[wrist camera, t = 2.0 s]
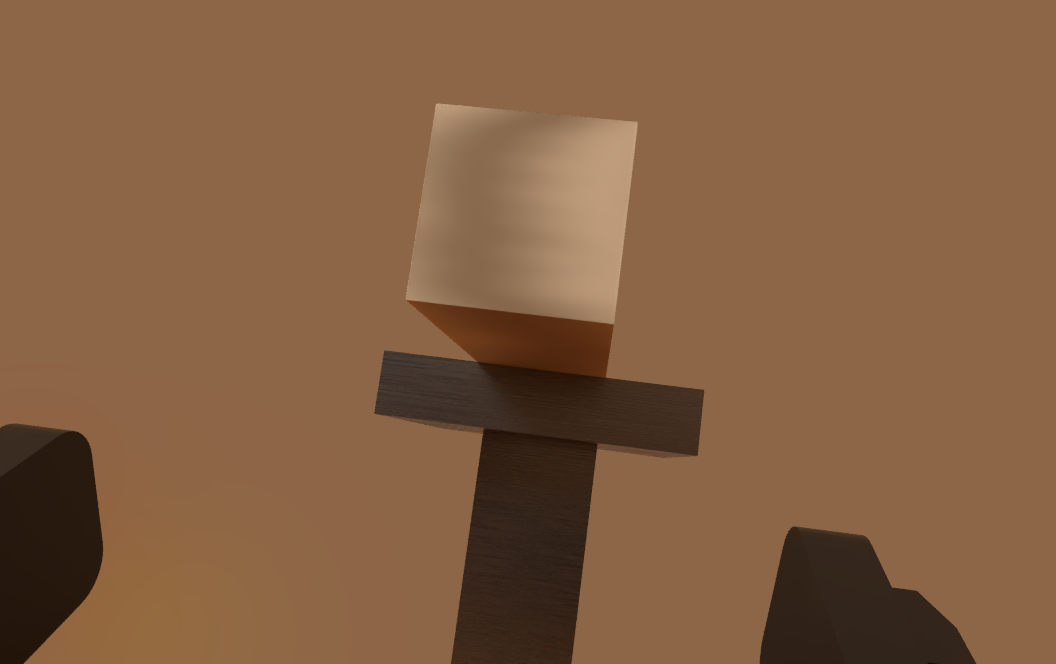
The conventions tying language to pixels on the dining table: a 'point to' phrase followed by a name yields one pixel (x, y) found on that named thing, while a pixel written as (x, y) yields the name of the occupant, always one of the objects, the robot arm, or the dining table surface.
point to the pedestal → (532, 484)
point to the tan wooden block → (523, 235)
